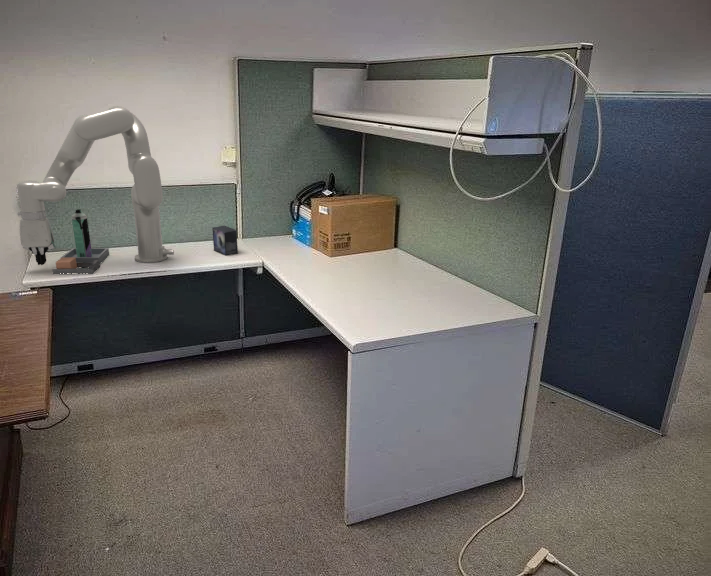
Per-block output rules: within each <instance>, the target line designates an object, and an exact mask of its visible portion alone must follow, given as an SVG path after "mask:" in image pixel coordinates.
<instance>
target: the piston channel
mask: <svg viewBox="0 0 711 576" xmlns="http://www.w3.org/2000/svg"><path fill="white" fill-rule="evenodd" d="M76 264H77V267H89V268H61V269H57V268H52V269H51V270H52V275H53V274H59V275H68V274H67V273H71V274H70V275H73V274H72V273H78V274H77V275H94V274H95V273H96V272H97V271H98V270H99V269H100V268H101V264H100V262H99V261H98V260H94V261H93V262H76ZM98 268H99V269H98ZM97 269H98V270H97ZM96 270H97V271H96ZM95 271H96V272H95ZM94 272H95V273H94ZM60 273H61V274H60ZM63 273H64V274H63ZM80 273H82V274H80ZM83 273H85V274H83ZM86 273H88V274H86ZM93 273H94V274H93Z"/></svg>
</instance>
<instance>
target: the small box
mask: <svg viewBox="0 0 711 576" xmlns="http://www.w3.org/2000/svg"><path fill="white" fill-rule="evenodd" d="M211 228H212V242H213V251H214V252H217V253H219V254H221V255H223V256H232V255H238V254H239V252H238V250H239V249H238V236H237V235H238V233H237V232H238V231H237V229H235V228H232V227H229V226H227V225H220V226H214V227H211Z"/></svg>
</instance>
